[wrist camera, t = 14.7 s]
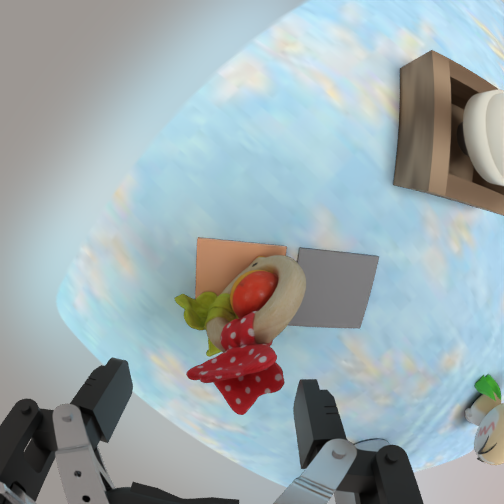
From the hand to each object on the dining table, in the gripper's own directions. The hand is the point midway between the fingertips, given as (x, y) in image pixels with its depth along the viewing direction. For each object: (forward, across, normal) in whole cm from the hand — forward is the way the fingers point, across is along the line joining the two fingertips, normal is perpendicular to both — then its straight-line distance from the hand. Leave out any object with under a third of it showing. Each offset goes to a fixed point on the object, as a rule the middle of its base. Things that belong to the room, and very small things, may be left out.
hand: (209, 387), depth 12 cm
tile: (+11, -1, -1) cm, 11 cm away
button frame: (+10, -17, -15) cm, 25 cm away
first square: (+11, -8, -1) cm, 13 cm away
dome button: (+7, -17, -14) cm, 24 cm away
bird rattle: (+10, -1, -1) cm, 11 cm away
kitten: (+11, -39, +18) cm, 45 cm away
